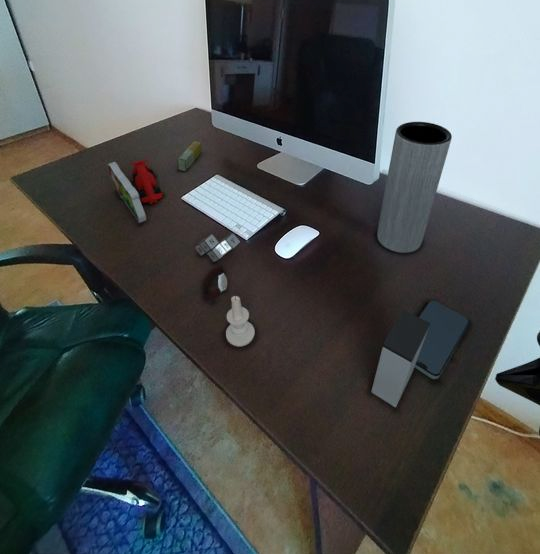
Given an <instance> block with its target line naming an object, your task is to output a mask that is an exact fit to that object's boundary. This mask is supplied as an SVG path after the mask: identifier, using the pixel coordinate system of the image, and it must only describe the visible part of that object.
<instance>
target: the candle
mask: <svg viewBox="0 0 540 554" xmlns="http://www.w3.org/2000/svg"><path fill="white" fill-rule="evenodd" d="M230 300H231V308H230V309H229V310H228V311H227V313H226V320H227V322H228V323H229V325H228V326H227V328H226V331H225V337H226V341H227V342H228V343H229V345H232V346H233V347H244V346H247V345H249V344H250V343H251V342H252V341H253V340H254V338H255V334H256V333H255V327H254V325H253V324H252V323H251V322H249V321H248V320H249V318H250V313H249V310H248V309H247V308H245V307H243V306H242V302H241V297H239V296H238V295H233V296H231V298H230Z"/></svg>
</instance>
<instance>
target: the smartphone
mask: <svg viewBox="0 0 540 554" xmlns="http://www.w3.org/2000/svg"><path fill="white" fill-rule="evenodd" d="M417 317H419V318H421V319H423V320H425V321H427V322H429V323H430V326H429V329H428V331H427V334H426V337H425V340H424V342H423V345H422V348H421V350H420V353H419V356H418V359H417V361H416V364H415V367H414V369H416V370H418V371H419V372H420V373H423V374H424V375H426V376H427V377H428V378H430V379H432V380H438V379H439V378H440V376H442V374H443V372H444V370H445V369H446V367H447V365H448V363H449V361H450V360H451V358H452V357H453V353H454V352H455V350H456V348H457V346H458V344H459V342H460V341H461V339H462V337H463V336H464V334H465V332H466V331H467V329H468V327H469V325H470V319H469V318H467V317H466V316H465V315H463V314H461V313H459V312H458V311H455V310H453V309H452V308H451V307H448V306H446V305H444V304H442V303H441V302H439V301H437V300H433V299H431V300H428V302H427V303H426V305H425V306H424V308H423V309H422V310H421V312H420V313H419V315H417Z"/></svg>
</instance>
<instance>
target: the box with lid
mask: <svg viewBox="0 0 540 554" xmlns="http://www.w3.org/2000/svg"><path fill="white" fill-rule="evenodd" d="M429 326H430V323H429V322H427V321H425V320H423V319H421V318H419V317H418V315H416V314H414V313H411V312H409V311H407V310H406V309H402V311H401V312H400V314H399V316H398V318H397V320H396V321H395V323H394V324H393V327H391V330H390V332H389V333H388V335H387V337H386V339H385V340H384V342H383V345H382V348H381V352H380V357H379V360H378V363H377V368H376V372H375V375H374V380H373V383H372V388H371V391H370V392H371V393H372V394H373V395H375V396H376V397H378V398H380V399H381V400H383V401H384V402H386V403H387V404H389V405H391V406H392V407H394V408H397V406H398V404H399V402H400V400H401V398H402V396H403V393H404V392H405V390H406V389H405V388H406V387H407V385H408V383H409V381H410V378H411V377H412V374H413V373H414V370H415V364H416V361H417V359H418V356H419V353H420V350H421V348H422V345H423V342H424V340H425V337H426V334H427V331H428V329H429Z"/></svg>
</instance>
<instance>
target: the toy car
mask: <svg viewBox="0 0 540 554" xmlns="http://www.w3.org/2000/svg"><path fill="white" fill-rule="evenodd" d="M148 161H149V160H148V158H144V159H141V160H137V161H132V162H129V164H130V166H134V167H133V168H132V170H131V175H132V178H133V182H134V183H135V185H136V188H137V190H138V191H139V192H138V194H139V199H140V202H141V203H144V204H145V203H146V204H147V203H149V204H150V205H153V203H154V204H155V203H158V200H160V199H162V198H163V192H162V190H161V187H160V186H157V182H156V178H155V174H154V170H153V168H151V167H150V166H149V165H148V164H145V163H146V162H148Z"/></svg>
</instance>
